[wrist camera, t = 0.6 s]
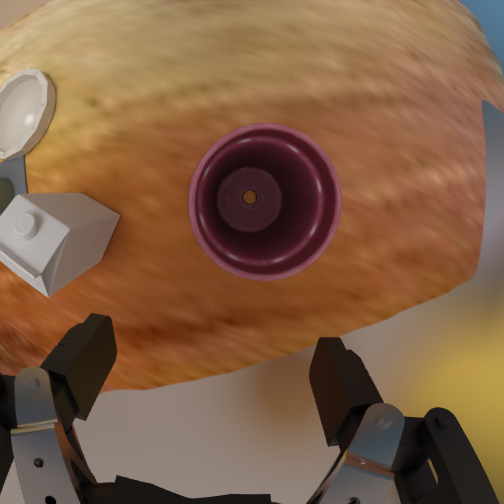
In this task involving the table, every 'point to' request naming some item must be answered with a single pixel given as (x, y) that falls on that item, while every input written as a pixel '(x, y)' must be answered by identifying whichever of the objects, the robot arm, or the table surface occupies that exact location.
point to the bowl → (25, 112)
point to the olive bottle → (6, 193)
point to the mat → (15, 174)
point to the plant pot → (264, 201)
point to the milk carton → (54, 237)
